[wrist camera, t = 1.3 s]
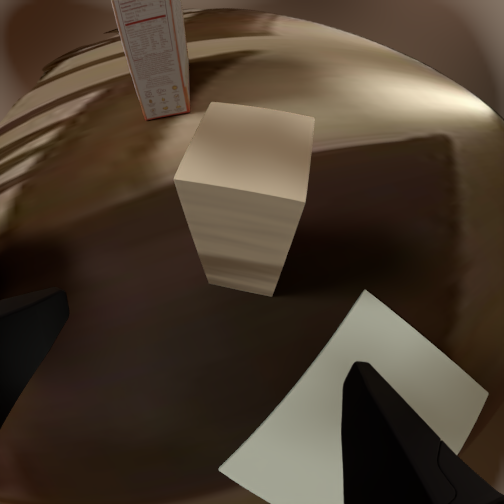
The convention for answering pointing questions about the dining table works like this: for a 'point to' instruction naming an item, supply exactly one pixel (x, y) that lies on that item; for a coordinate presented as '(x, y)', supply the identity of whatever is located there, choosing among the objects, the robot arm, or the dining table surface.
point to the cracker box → (156, 54)
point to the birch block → (245, 192)
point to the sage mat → (330, 407)
